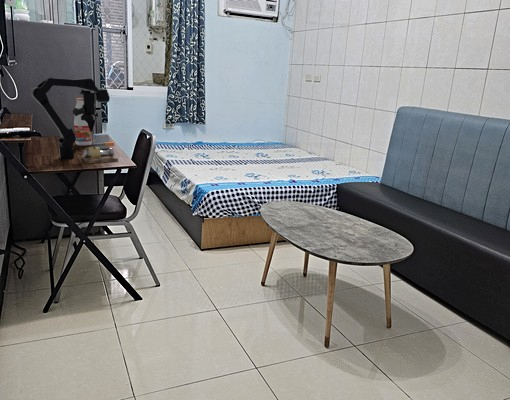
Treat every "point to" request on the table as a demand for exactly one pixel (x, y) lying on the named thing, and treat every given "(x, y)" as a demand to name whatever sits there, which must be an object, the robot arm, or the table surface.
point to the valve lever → (103, 144)
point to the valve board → (100, 159)
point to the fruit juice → (81, 127)
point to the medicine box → (101, 139)
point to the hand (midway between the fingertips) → (91, 131)
